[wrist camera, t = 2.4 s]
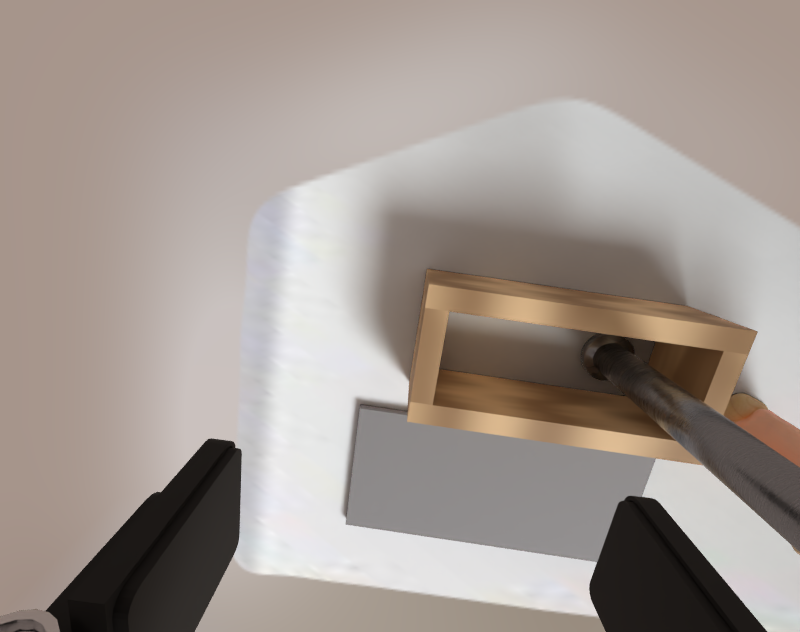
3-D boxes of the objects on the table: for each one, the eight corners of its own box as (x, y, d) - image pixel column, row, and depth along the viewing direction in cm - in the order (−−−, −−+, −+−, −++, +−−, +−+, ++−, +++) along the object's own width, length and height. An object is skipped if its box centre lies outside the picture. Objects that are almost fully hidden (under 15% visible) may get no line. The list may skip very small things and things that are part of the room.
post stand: (635, 335, 24) (1041, 574, 8) (621, 379, 25) (967, 671, 9) (587, 329, 24) (903, 553, 8) (575, 372, 25) (841, 652, 9)
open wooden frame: (688, 306, 23) (757, 331, 19) (649, 416, 26) (702, 465, 21) (426, 268, 24) (429, 284, 19) (409, 381, 26) (406, 421, 21)
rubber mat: (653, 447, 26) (658, 452, 26) (613, 558, 29) (616, 564, 28) (360, 404, 26) (359, 408, 26) (346, 519, 29) (345, 524, 28)
